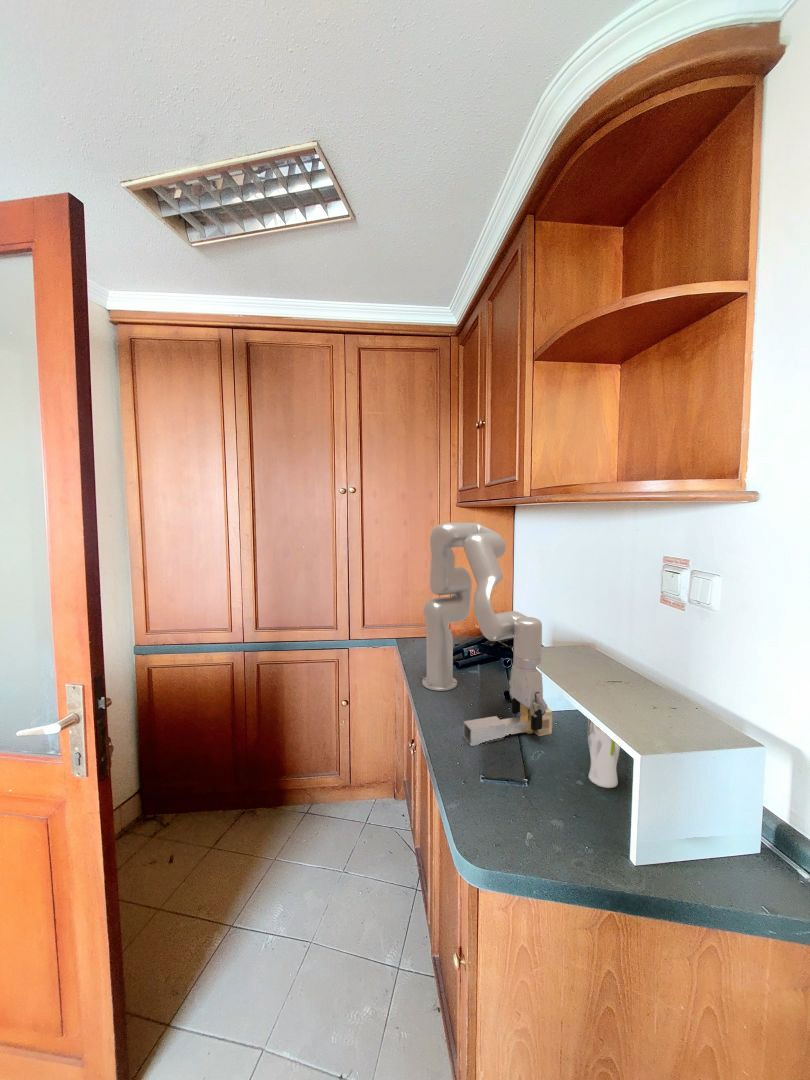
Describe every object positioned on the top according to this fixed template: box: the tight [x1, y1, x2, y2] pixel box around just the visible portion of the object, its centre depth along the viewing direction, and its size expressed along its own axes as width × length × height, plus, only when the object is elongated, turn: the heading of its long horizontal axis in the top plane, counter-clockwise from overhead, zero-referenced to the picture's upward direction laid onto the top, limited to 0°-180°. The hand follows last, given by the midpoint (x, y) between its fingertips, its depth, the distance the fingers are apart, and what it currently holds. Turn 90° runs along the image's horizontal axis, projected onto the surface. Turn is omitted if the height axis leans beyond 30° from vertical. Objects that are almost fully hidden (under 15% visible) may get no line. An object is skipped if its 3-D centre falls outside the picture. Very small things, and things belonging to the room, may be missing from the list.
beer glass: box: [587, 718, 621, 789], centre depth 95 cm, size 7×7×15 cm
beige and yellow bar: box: [500, 703, 534, 736], centre depth 116 cm, size 4×16×7 cm, turn 107°
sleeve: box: [463, 715, 506, 747], centre depth 113 cm, size 5×10×5 cm, turn 107°
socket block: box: [533, 703, 553, 737], centre depth 118 cm, size 6×4×6 cm
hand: (526, 720), depth 117 cm, fingers open, 9 cm apart
